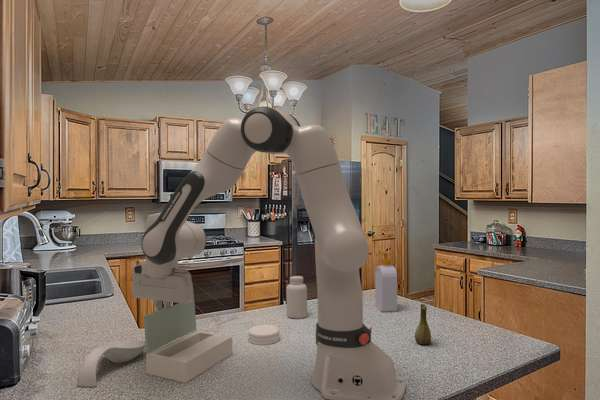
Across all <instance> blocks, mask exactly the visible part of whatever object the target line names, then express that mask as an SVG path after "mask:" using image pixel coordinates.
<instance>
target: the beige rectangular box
mask: <svg viewBox="0 0 600 400" xmlns="http://www.w3.org/2000/svg"><path fill="white" fill-rule="evenodd" d="M232 354H233V336H231V335H225V334H219V333H214V332H213V333H212V332H209V331H207V332H205V331H201V330H196V331H194V332H191V333H189V334H187V335H185V336H183V337H181V338H179V339H176V340H174V341H172V342H170V343H168V344H166V345H163V346H161V347H159V348H157V349H155V350H153V351H151V352H147V353H146V354H145V370H146V371H145V372H146V373H145V374H146V375H151V376H155V377H159V378H163V379H167V380H172V381H175V382H179V383H183V384H187V383H189V382H190V381H191V380H193V379H194V378H196V377H198V376H199V375H200V374H202V373H204V372H205V371H207V370H209V369H211V368H212V367H213V366H215V365H217V364H218V363H220V362H222V361H223V360H225V359H227V358H228V357H230V356H231V355H232Z"/></svg>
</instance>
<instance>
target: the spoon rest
mask: <svg viewBox="0 0 600 400" xmlns="http://www.w3.org/2000/svg"><path fill="white" fill-rule="evenodd" d="M145 349H146V343H145V340H140V339H127V340H124V339H123V340H118V341H113V342H109V343H106V344H103V345H101V346H96V347H95V348H94V349H93V350H91V351H90V353H89V354H88V356H87V357H86V359H85V360H84V362H83V364H82V366H81V368H80V371H79V374H78V377H77V382H76V386H77V387H80V388H81V387H87V388H92V387H97V366H98V363H99V361H100V359H101V358H102V357H104V358H105V359H107V360H109V361H110V362H111V363H116V364H122V362H123V363H127V362H130V361H133V360H134V359H136V358H137V357H138V356H139V355H141V353H143V351H144V350H145Z"/></svg>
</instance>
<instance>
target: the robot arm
mask: <svg viewBox="0 0 600 400" xmlns="http://www.w3.org/2000/svg"><path fill="white" fill-rule="evenodd" d="M257 152H259V153H267V154H269V155H279V154H281V155H282V154H285V155H287V156H288V157H289V159H290V160H291V163H292V166H293V169H294V172H295V176H296V180H297V183H298V187H299V190H300V193H301V197H302V201H303V203H304V207H305V210H306V212H307V213H306V214H307V215H308V219H309V221H310V224H311V227H312V231H313V233H314V237H315V238H314V250H315V251H314V255H315V256H314V257H315V276H316V277H315V278H316V289H317V292H316V293H317V322H316V324H315V344H316V356H315V363H314V368H313V372H312V376H311V382H310V383H311V384H312V386H313V387H314V388H315V389H317V390H318V391H319V392H320V394H321V396H322V397H323V399H326V400H402V399H403V397H404V396H405V394H406V381H405V380H404V378H403V377H402V376H400V375H397V374H396V373H397V372H396V368H395V364H394V361H393V359H392V358H391V356H389V354H387V353H386V352H385V351H383V350H382V349H381V348H380V347H379V346H378V345H376V344H375V343H374V342H373V341H372V332H373V331H372V329H373V327H372V326H370V327H369V328H368V327H367V326H366V324H364V321H363V319H364V316H363V315H364V314H363V313H364V311H363V310H364V308H363V307H364V306H363V305H364V304H363V303H364V301H363V297H364V295H363V289H362V283H361V278H360V277H361V275H360V269H361V268H362V267H363V266H364V265H365V264H366V262H367V259H368V258H369V250H370V249H369V244H368V241H367V239H366V235H365V233H364V230H363V227H362V225H361V221H360V220H359V217H358V214H357V212H356V209H355V207H354V204H353V203H352V202H353V201H352V200H351V197H350V194H349V190H348V188H347V185H346V181H345V177H344V174H343V171H342V167H341V163H340V160H339V157H338V155H337V151H336V149H335V147H334V144H333V142H332V139H331V137H330V135H329V133H328V132H327V130H326V129H325V128H324V127H323V126H321V125H319V124H311V123H310V124H306V125H303V126H302V125H301V124H300V122H299V121H298V120H297V118H296V117H294V116H293V115H291V114H289V113H286V112H285V111H283V110H281V109H278V108H274V107H271V106H263V105H262V106H258V107H257V106H256V107H255V108H252V109H250V110H248V111H247V112H246V114H245V115H244V116H243V118H239V117H229V118H227V119H225V120H224V121H223V122H222V123H221V125H220V127H219V128H218V129H217V130H216V132H215V133H214V135H213V137H212V138H211V139H210V142H209V144H208V145H207V148H206V150H205V151H204V153H203V154H202V157H201V159H200V160H199V161H198V163H196V166H195V167H194V168H193V169H192V170H191V171H190V172H188V174H186V176H185V177H184V178H182V180H181V181H180V183H179V184H178V186H177V187H176V189H175V190H174V191H173V193H172V195H171V196H170V198H169V200H168V201H167V203H166V204H165V206H164V208H162V209H163V210H161V211H154V212H152V213H150V214H148V216H147V218H146V222H145V231H144V233H143V236H142V239H141V243H140V244H141V251H142V253H143V255H144V256H145V258H144V259H145V261H144V262H141V263H139V264H136V265H133V266H132V268H131V271H132V274H133V275H132V278H131V280H132V281H131V283H132V284H131V292H132V295H133V297H134V298H136V299H144V300H151V301H152V303H153V306H154V308H155V311H158V310H161V309H164V308H167V307H170V306H172V304H173V303H176V304H178V303H182V304H185V303H188V302H191V301H192V299H195V297H194V294H195V293H194V285H193V280H192V274H191V273H190V272H189V271H188V269H185V268H179V260H184V259H186V258H191V257H195V256H198V255H200V254H201V253H203V252H204V250H205V248H206V245H207V234H206V232H205V230H204V228H203V227H202V225H200V224H198V223H195V222H191V221H189V220H187V219H188V218H189V216H190V215H191V213H192V212H193V211H194V209H195V208H196V207H197V205H199V204H200V203H201V202H203V201H205V200H206V199H208V198H210V197H213V196H216V195H218V194H222V193H224V192H228V191H229V190H231V189H232V188H233V187H234V186H235V185H236V184H237V183H238V181H239V180H240V179H241V177H242V175H243V173H244V172H245V169H246V168H247V165H248V163H249V161H250V159H251V158H252V156H253V155H254V154H255V153H257Z"/></svg>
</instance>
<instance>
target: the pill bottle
mask: <svg viewBox="0 0 600 400" xmlns="http://www.w3.org/2000/svg"><path fill="white" fill-rule="evenodd" d="M285 290H286V291H285V293H286V297H285V298H286V317H287V318H289V319H294V320H296V319H302V318H303V319H304V318H306V317H308V287H307V285H306V284H305V283H304V277H303V276H302V275H292V276H290V277H289V284H287V285H286V287H285Z"/></svg>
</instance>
